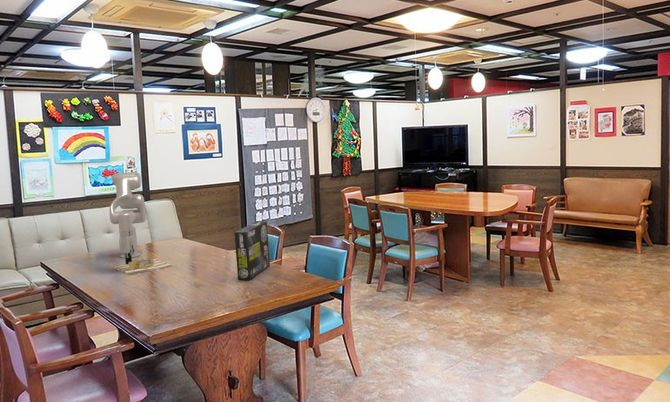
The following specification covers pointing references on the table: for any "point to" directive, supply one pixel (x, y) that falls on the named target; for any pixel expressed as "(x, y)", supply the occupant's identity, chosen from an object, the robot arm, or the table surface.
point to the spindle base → (156, 266)
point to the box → (252, 250)
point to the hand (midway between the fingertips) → (128, 263)
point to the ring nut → (135, 265)
